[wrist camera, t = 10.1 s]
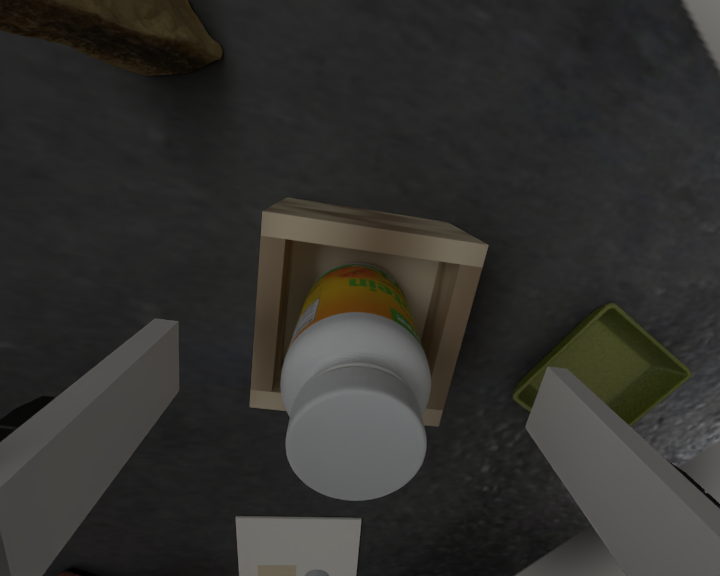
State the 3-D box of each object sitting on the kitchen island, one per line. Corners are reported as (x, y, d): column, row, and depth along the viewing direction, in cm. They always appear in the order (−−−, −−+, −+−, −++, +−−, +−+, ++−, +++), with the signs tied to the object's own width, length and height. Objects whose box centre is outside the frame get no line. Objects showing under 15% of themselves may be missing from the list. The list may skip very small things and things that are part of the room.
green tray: (576, 437, 28) (594, 458, 26) (497, 380, 26) (510, 398, 24) (668, 358, 25) (695, 374, 23) (590, 289, 23) (612, 300, 21)
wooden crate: (274, 343, 23) (249, 407, 17) (287, 197, 20) (262, 211, 14) (415, 360, 24) (438, 426, 18) (447, 222, 21) (488, 245, 15)
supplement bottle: (426, 291, 19) (493, 421, 10) (372, 367, 20) (387, 541, 11) (336, 240, 18) (317, 331, 9) (287, 325, 19) (227, 477, 10)
